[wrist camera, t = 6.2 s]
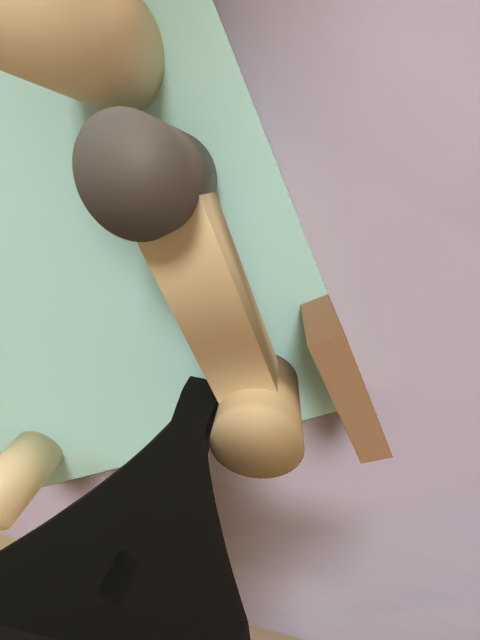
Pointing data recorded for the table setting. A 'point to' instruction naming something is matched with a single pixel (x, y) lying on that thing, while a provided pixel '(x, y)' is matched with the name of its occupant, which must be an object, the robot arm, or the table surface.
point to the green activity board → (134, 243)
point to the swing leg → (194, 278)
